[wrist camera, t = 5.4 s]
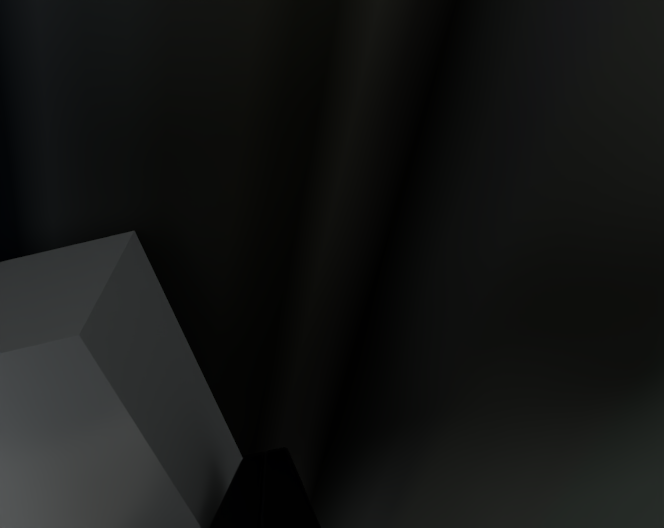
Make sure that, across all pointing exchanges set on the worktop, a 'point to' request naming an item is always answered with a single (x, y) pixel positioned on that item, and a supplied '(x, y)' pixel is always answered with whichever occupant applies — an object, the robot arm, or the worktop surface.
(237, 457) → the slate board
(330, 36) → the worktop surface
